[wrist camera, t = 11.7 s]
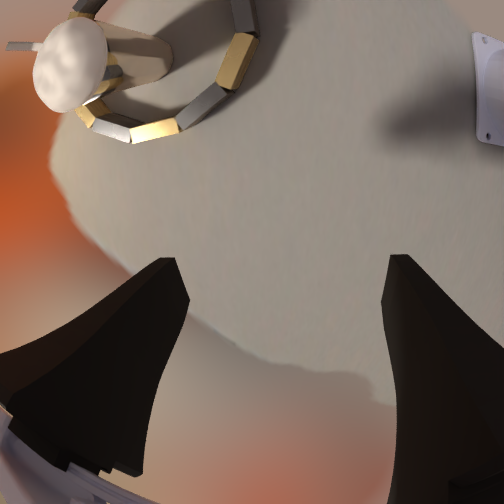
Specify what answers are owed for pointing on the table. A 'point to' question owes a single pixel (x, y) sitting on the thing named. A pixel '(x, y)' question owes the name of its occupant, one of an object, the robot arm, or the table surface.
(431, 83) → the table surface
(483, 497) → the robot arm
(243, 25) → the ring
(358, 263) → the table surface
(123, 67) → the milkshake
